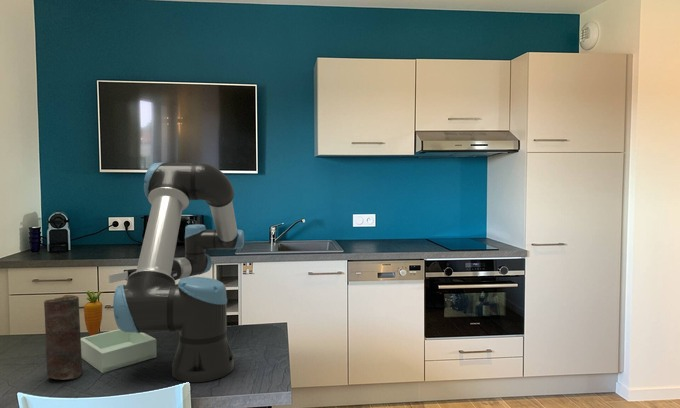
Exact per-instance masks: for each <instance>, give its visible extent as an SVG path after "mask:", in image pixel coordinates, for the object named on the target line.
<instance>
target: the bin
mask: <svg viewBox="0 0 680 408" xmlns="http://www.w3.org/2000/svg"><path fill="white" fill-rule="evenodd" d="M81 354H82V360H84V361H85V362H86V363H88V364H89V365H90V366H92V367H93V368H95V369H96V370H97V371H99V372H100V373H102V374H105V373H108V372H110V371H114V370H117V369H121V368H124V367H125V368H126V367H128V366H132V365H134V364H137V363H141V362H145V361H148V360H151V359H154V358H157V357H158V356H157V338H155V337H153V336H151V335H150V334H147V333H146V332H144V333H134V332H123V331H121V330H120V329H119V328H117V329H114V330H110V331H109V330H108V331H105V332H101V333H98V334H96V335H92V336H90V335H89V336H84V337H81Z"/></svg>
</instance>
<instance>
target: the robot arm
mask: <svg viewBox="0 0 680 408" xmlns="http://www.w3.org/2000/svg"><path fill="white" fill-rule="evenodd" d="M143 181H144V184H143V191H144V194H145V197H146V199H147V200H148V202H149V203H150V205H151V207H150V211H149V216H148V221H147V224H146V228H145V233H144V236H143V241H142V245H141V250H140V253H139V258H138V262H137V266H136V268H131V269H123V271H122V272H115V273H110V274H108V283H109V284H112V283H116V282H121V281H126V284H121V285H118V286H117V287H116V289H115V290H114V294H113V302H112V303H113V305H112V306H113V316H114V322H115V324H116V326H117V327H118V328H117V329H120V330H121V331H123V332H134V333H159V332H160V333H161V332H163V333H164V332H165V333H166V332H178V336H179V337H178V345H177V348H176V351H175V354H174V358H173V361H172V363H171V375H172V377H173V378H174V379H176V380H178V381H181V382H185V383H203V382H204V383H205V382H210V381H214V380H217V379H221V378H224V377H226V376H227V375H229V374H231V372H232V371H233V370H234V368H235V361H234V355H233V353H232V350H231V346H230V344H229V341H228V337H227V336H228V335H227V331H228V328H227V327H228V326H227V325H228V323H227V318H228V317H227V305H228V298H227V288H226V285H225V283H223V282H222V281H220V280H218V279H215V278H210V277H205V276H198V275H203V274H205V273H207V272H209V271H210V270H211V269H212V267H213V265H212V264H213V261H212V259H211V256H210V255H209V254H206V250H238V249H239V250H240V249H243V248H244V245H245V232H244V230H242V229H238V226H237V221H236V215H235V214H236V213H235V209H234V203H233V201H234V197H235V192H234V187H233V185H232V183H231V180H230V179H229V178H228V177H227V175H226V174H225V173H224V172H223V171H221V170H220V169H218V168H217V167H215V166H213V165H211V164H209V163H205V162H168V161H164V162H155V163H152V164H151V165H149V167H148V169H147V171H146V172H145V175H144V180H143ZM190 201H205V202H206V205H209V209H210V211H211V213H210V214H211V216H212V219H213V225H214V227H215V229H207V228H206V225H204V224H198V223H197V224H196V223H195V224H188V225H186V226H185V228H184V229H185V230H184V231H185V232H184V248H185V249H184V250H185V251H184V252H185V253H184V254H185V255H184V257H180V258H179V257H178V258H175V252H176V249H177V242H178V236H179V231H180V230H179V229H180V226H181V219H182V214H183V211H184V210H186V209H187V208H188V207H189V205H190ZM174 258H175V259H174ZM177 280H179V281H178V282H177V284H176V281H177Z"/></svg>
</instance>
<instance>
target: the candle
mask: <svg viewBox="0 0 680 408" xmlns="http://www.w3.org/2000/svg"><path fill="white" fill-rule="evenodd" d="M79 298H80V297H79V296H78V295H75V294H65V295H63V296H61V297H60V296H59V297H56V298H53V299H52V298H50V299H45V300H44V302H43V304H44V305H43V306H44V327H45V330H44V331H45V354H46V355H45V356H46V357H45V358H46V376H47V378H49V379H54V380H61V381H62V380H63V381H64V380H74V379H77V378H79V377H80V376H82V374H83V359H82V354H81V338H82V337H81V323H80V322H81V321H80V319H81V318H80V299H79Z"/></svg>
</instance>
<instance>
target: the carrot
mask: <svg viewBox="0 0 680 408" xmlns="http://www.w3.org/2000/svg"><path fill="white" fill-rule="evenodd" d="M85 293H86V295H87V296H88V297H86V298H85V300H87V301H89V302H86V303H85V304H84V307H83V314H84V315H83V316H84V322H85V327H86V331H87V332H88V335H89V336H92V335H96V334H99V331H100V329H101V325H102V320H103V303H102V302H101V301H99V297H100V296H101V294H102V293H103V292H102V291H98V293H95V292H94V291H90V290H86V292H85Z"/></svg>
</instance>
